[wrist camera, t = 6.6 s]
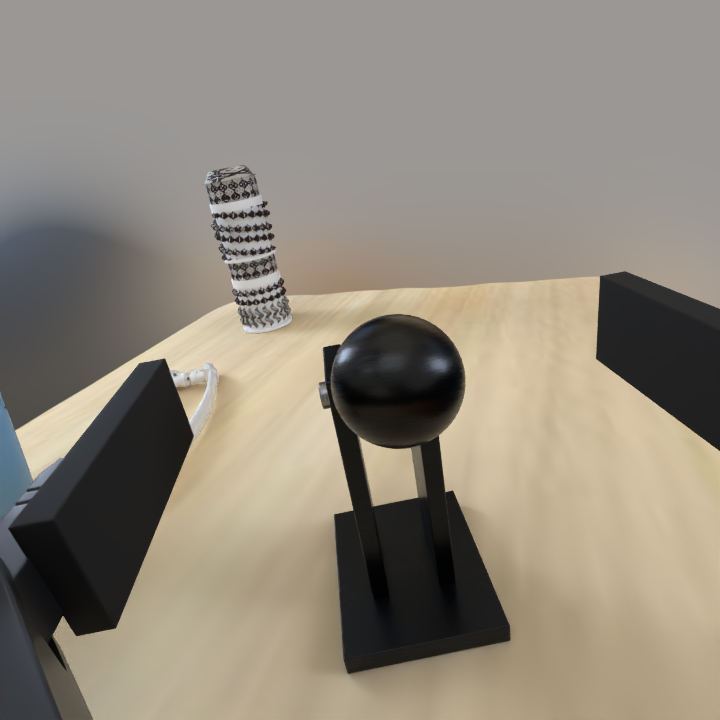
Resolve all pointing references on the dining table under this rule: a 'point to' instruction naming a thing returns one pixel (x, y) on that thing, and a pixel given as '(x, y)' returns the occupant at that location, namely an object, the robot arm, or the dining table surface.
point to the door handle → (205, 407)
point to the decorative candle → (248, 248)
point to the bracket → (407, 564)
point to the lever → (398, 381)
